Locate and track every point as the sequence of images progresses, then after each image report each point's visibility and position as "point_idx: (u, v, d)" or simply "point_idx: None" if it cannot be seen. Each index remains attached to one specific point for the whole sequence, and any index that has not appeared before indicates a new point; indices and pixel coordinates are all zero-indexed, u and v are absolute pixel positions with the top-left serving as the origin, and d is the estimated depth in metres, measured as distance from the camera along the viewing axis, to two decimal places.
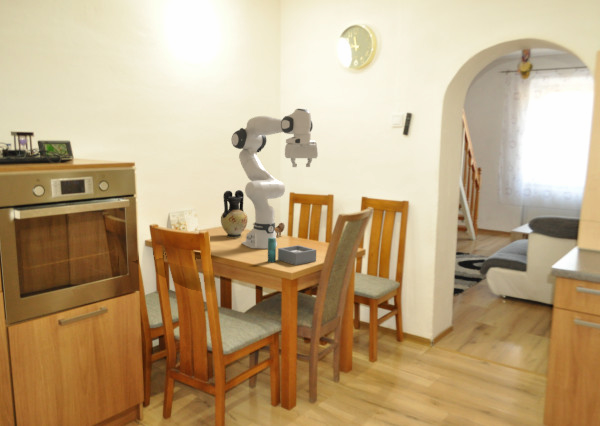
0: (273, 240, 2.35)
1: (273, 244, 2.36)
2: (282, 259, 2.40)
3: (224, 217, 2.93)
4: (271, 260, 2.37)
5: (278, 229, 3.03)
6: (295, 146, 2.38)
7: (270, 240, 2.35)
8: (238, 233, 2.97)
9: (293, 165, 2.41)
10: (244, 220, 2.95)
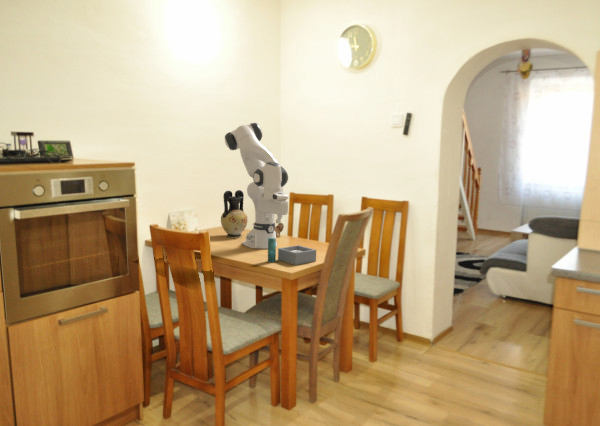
0: (273, 240, 2.35)
1: (273, 244, 2.36)
2: (282, 259, 2.40)
3: (224, 217, 2.93)
4: (271, 260, 2.37)
5: (277, 229, 3.03)
6: None
7: (270, 240, 2.35)
8: (238, 233, 2.97)
9: (279, 221, 2.32)
10: (244, 220, 2.95)
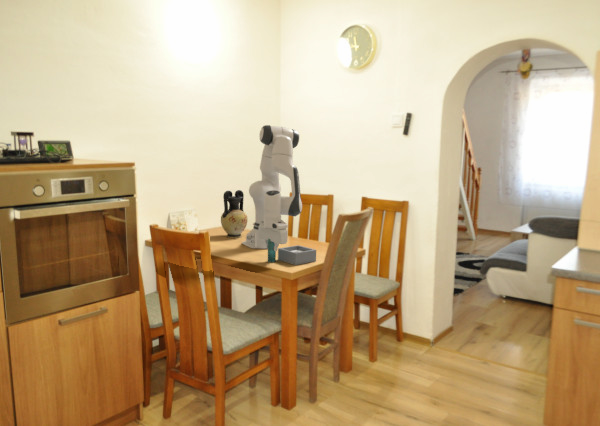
0: None
1: (273, 244, 2.36)
2: (282, 259, 2.40)
3: (224, 217, 2.93)
4: (271, 260, 2.37)
5: None
6: None
7: (270, 240, 2.35)
8: (238, 233, 2.97)
9: (276, 249, 2.35)
10: (244, 220, 2.95)
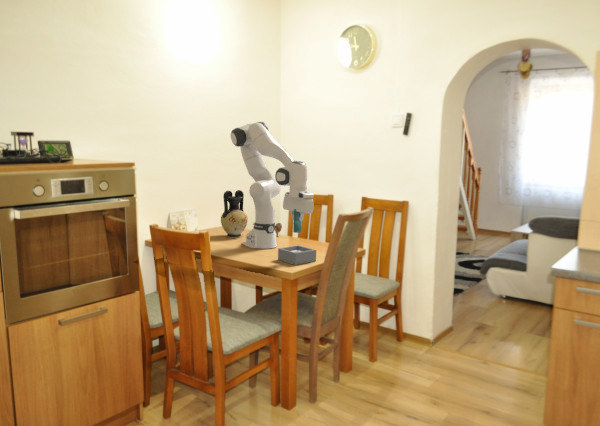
0: None
1: (299, 214, 2.37)
2: (282, 259, 2.40)
3: (224, 217, 2.93)
4: (297, 230, 2.38)
5: (275, 229, 3.02)
6: None
7: None
8: (238, 233, 2.97)
9: (301, 219, 2.36)
10: (244, 220, 2.95)
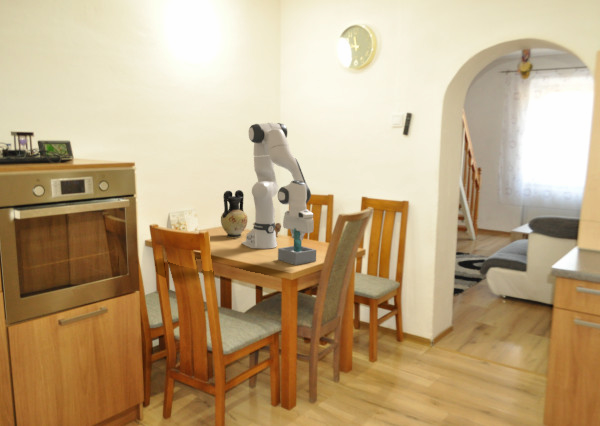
0: None
1: (299, 233, 2.38)
2: (282, 259, 2.40)
3: (224, 217, 2.93)
4: (297, 249, 2.39)
5: (275, 229, 3.02)
6: None
7: None
8: (238, 233, 2.97)
9: (301, 238, 2.38)
10: (244, 220, 2.95)
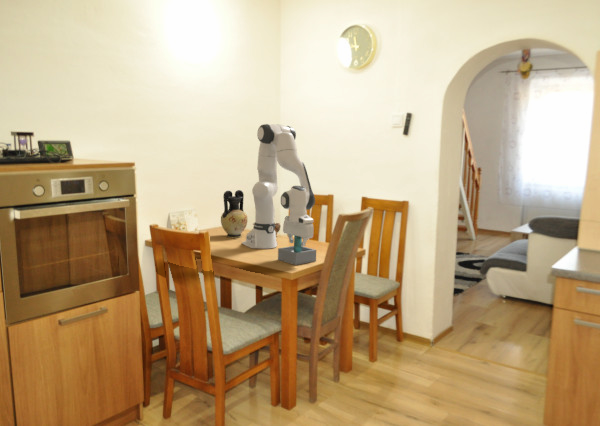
0: (299, 237, 2.39)
1: (299, 241, 2.40)
2: (282, 259, 2.40)
3: (224, 217, 2.93)
4: None
5: (274, 229, 3.01)
6: None
7: (296, 237, 2.39)
8: (238, 233, 2.97)
9: (304, 244, 2.37)
10: (244, 220, 2.95)
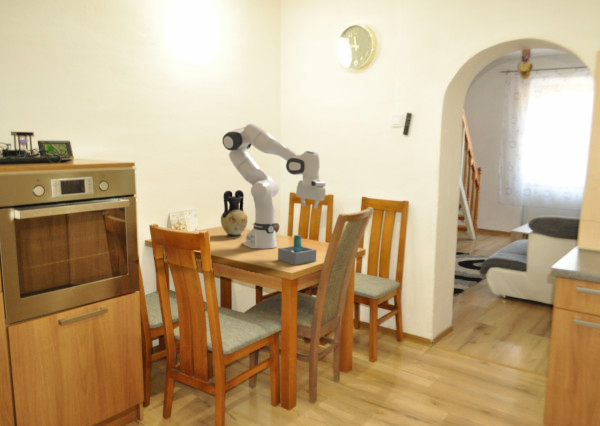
0: (299, 237, 2.39)
1: (299, 241, 2.39)
2: (282, 259, 2.40)
3: (224, 217, 2.93)
4: None
5: None
6: None
7: (296, 237, 2.39)
8: (238, 233, 2.97)
9: (316, 206, 2.49)
10: (244, 220, 2.95)
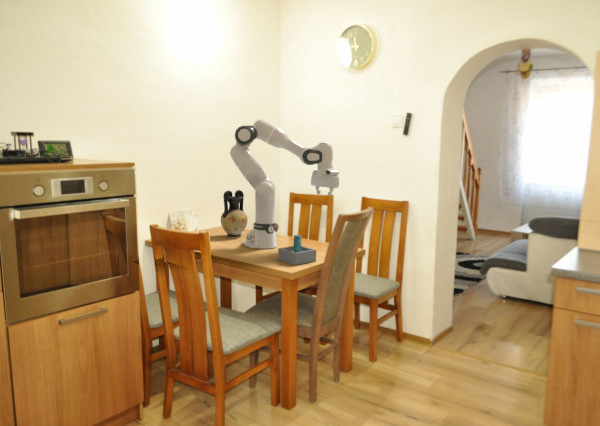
0: (299, 237, 2.39)
1: (299, 241, 2.39)
2: (282, 259, 2.40)
3: (224, 217, 2.93)
4: None
5: None
6: None
7: (296, 237, 2.39)
8: (238, 233, 2.97)
9: (330, 194, 2.69)
10: (244, 220, 2.95)
